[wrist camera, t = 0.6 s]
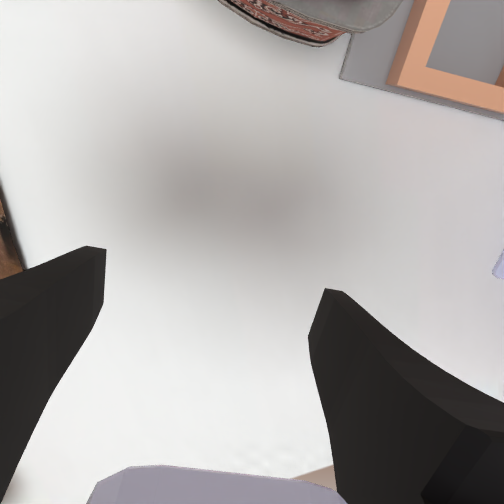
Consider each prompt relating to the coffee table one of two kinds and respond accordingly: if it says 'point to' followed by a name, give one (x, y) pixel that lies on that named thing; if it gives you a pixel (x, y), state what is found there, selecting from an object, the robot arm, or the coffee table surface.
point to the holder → (436, 54)
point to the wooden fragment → (7, 250)
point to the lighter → (314, 17)
